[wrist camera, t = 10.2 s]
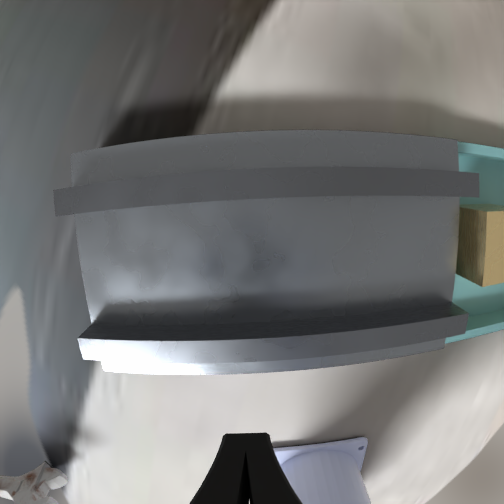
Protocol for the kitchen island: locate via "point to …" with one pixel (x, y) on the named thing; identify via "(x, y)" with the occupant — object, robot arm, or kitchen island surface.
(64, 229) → the kitchen island surface
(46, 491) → the wrench
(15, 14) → the kitchen island surface
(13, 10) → the kitchen island surface
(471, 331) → the tray
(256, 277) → the slot block
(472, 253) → the wooden cube
